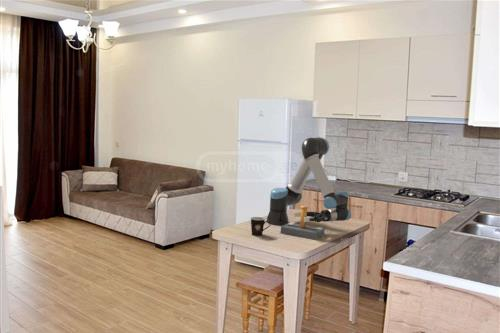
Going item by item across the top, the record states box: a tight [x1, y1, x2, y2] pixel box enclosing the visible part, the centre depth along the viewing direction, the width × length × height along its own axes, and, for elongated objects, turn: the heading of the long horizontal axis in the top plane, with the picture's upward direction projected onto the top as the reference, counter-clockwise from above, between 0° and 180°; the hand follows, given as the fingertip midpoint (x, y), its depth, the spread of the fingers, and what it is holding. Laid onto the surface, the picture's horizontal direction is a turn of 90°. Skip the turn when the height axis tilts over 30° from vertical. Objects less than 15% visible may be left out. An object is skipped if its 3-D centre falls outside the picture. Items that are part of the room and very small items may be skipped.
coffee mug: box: [250, 216, 271, 237], centre depth 271 cm, size 12×9×10 cm
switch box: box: [280, 222, 326, 241], centre depth 278 cm, size 24×14×4 cm, turn 62°
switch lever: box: [299, 205, 309, 228], centre depth 277 cm, size 4×4×16 cm
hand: (299, 217), depth 276 cm, fingers open, 13 cm apart
